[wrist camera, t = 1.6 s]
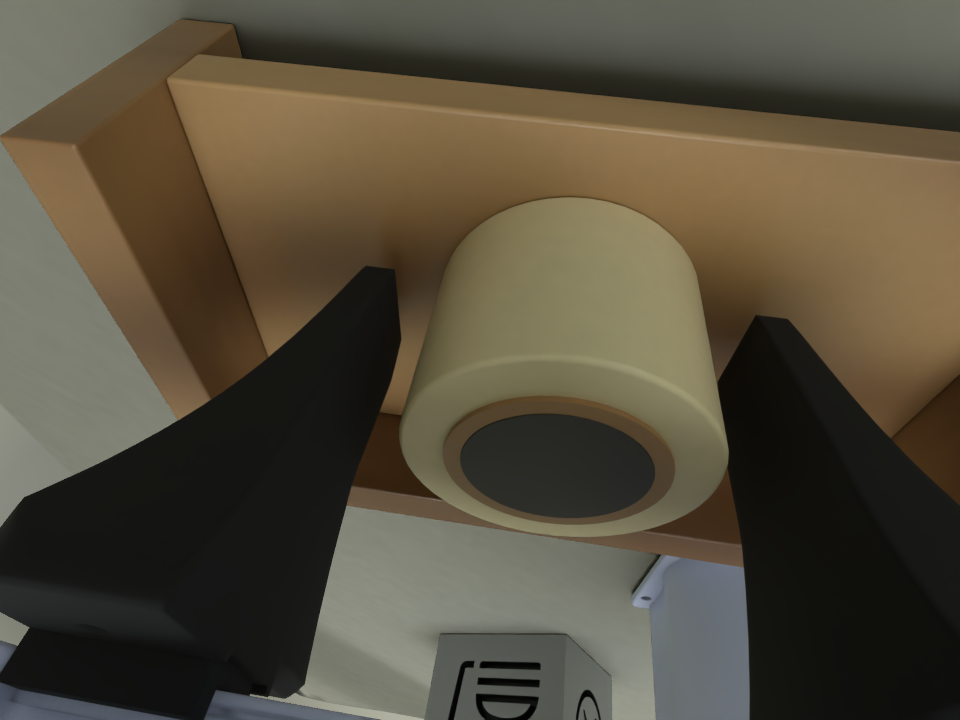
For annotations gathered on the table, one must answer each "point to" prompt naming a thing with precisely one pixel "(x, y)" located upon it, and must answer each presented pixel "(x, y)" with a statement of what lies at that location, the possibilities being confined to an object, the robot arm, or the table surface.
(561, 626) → the table surface
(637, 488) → the tape roll
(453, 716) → the icon cube
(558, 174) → the shelf
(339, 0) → the table surface
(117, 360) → the table surface
